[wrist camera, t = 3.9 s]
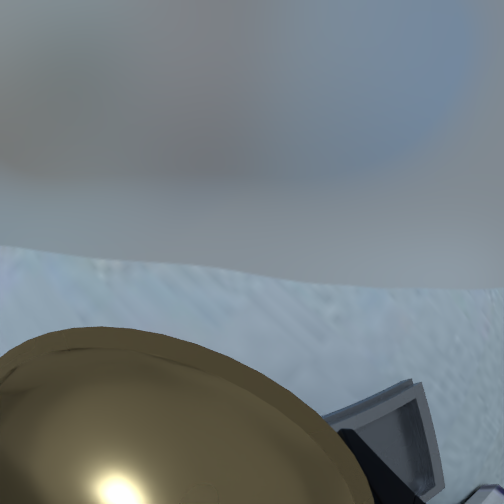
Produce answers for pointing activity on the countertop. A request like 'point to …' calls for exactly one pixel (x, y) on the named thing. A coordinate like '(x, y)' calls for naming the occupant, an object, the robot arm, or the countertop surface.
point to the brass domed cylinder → (159, 427)
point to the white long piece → (487, 495)
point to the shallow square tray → (398, 434)
